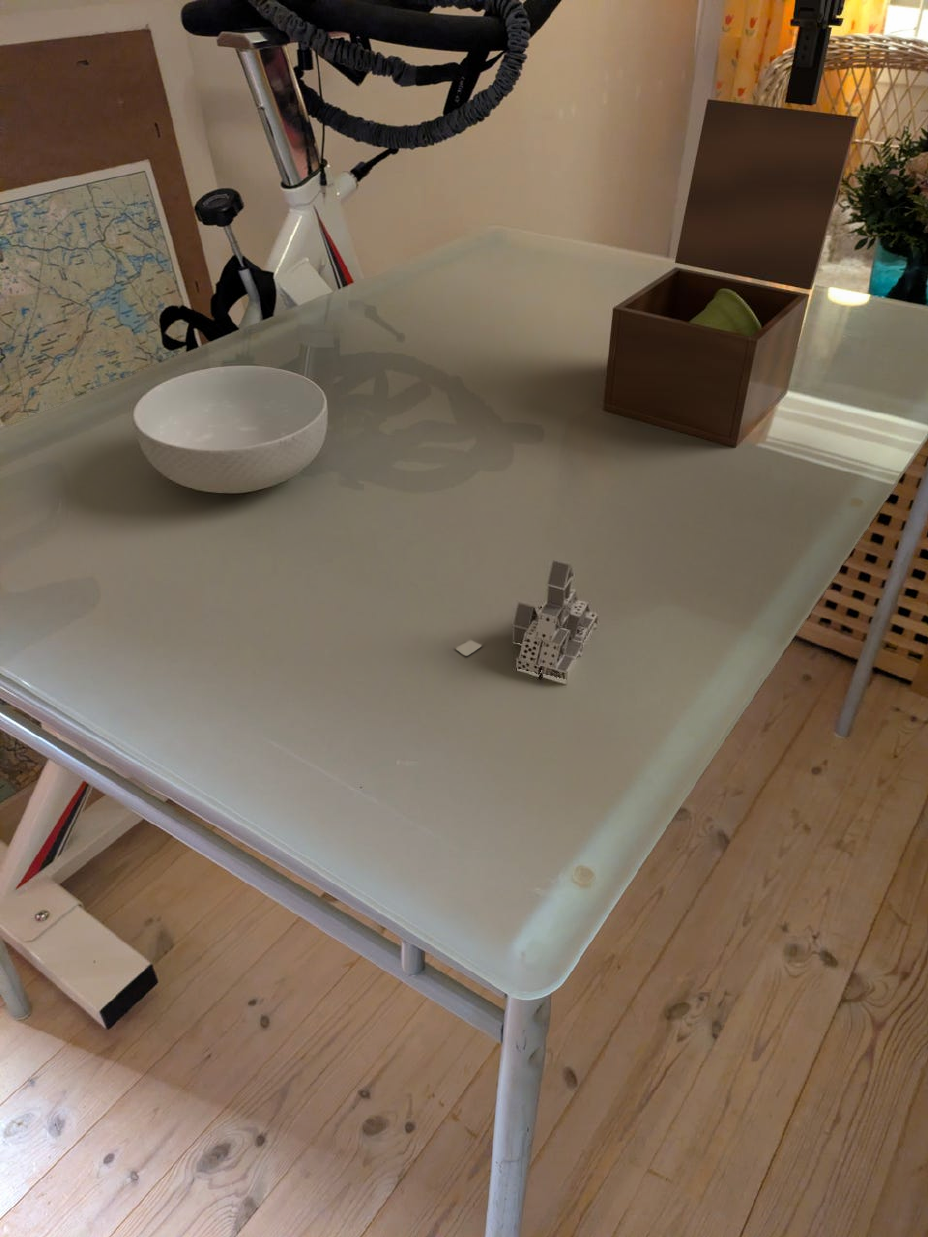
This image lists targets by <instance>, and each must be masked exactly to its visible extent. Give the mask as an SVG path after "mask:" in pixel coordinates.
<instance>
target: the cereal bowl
mask: <svg viewBox="0 0 928 1237" xmlns="http://www.w3.org/2000/svg"><path fill="white" fill-rule="evenodd" d="M328 415H329V414H328V401H327V397H326V394H325V393H324V391H323V390H322V389H321V388H320V386H319V385H318V384H317V383H316V382H314V381H312V380H311V379H309V378H307V377H305V376H303V375H301V374H299V373H295V372H292V371H289V370H286V369H281V368H275V367H269V366H263V365H262V366H261V365H229V366H218V367H211V368H209V367H208V368H205V369H199V370H195V371H191V372H187V373H183V374H181V375H178V376H175V377H172V378H169V379H168V380H166V381H163V382H161V383H159V384H157V385H156V386H154V387H153V388H151V389H150V390H148V391H147V392H146V393H145V394H144V395H143V396H142V397H141V398H140V399H139V400H138V401H137V402H136V404H135V406H134V408H133V412H132V425H133V427H134V433H135V435H136V438H137V439H136V440H137V441H138V444H139V447H140V450H141V451H142V453H143V456H145V457H146V459H147V461H148V462H149V463H150V464H151V466H152V467H153V468H155V469H156V471H157V472H159V473H160V474H161V475H162V476H163V477H166V478H167V479H168V480H171V481H172V482H174V483H176V484H179V485H180V486H184V487H186V488H189V489H193V490H195V491H201V492H204V493H205V492H207V493H214V494H215V493H216V494H245V493H251V492H255V491H259V490H260V491H261V490H263V489H267V488H270V487H274V486H276V485H278V484H280V483H283V482H284V483H285V481H288V480H289V479H292V478H293V477H295V476H296V475H298V474H299V473H301V472H302V471H304V470H305V469H306V468H307V467H308V466H309V465H310V464H311V462H313V461H314V460H315V458H316V457H317V456H318V454H319V452H320V451H321V449H322V446H323V445H324V441H325V439H326V433H327V431H328V417H329V416H328Z"/></svg>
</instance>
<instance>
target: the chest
mask: <svg viewBox="0 0 928 1237" xmlns="http://www.w3.org/2000/svg"><path fill="white" fill-rule="evenodd" d="M720 289H729V290H731V291H733V292H735V293H736V294H737V295H738V296H739V297H741V298H742V299H743V300H744V302H745V303H746V304H747V305H748V306H749V308H750V309H751V310H752V312H753V313H754V315H755V316H756V318H757V320H758V321H759V323H760V325H761V327H762V329H760V330H759V331H758V332H757V333H756V334H755V335H754V336H752V337H751V336H746V335H742V334H738V333H733V332H729V331H725V330H720V329H716V328H712V327H707V326H703V325H698V324H694V323H690V321H691V320H692V319H693V318H695V317H696V316H697V315H698V314H700V313H701V312H702V311H703V310H704V309H705V308H706V306H707V305H708V304H709V303H710V302H711V301H712V300H713V299H714V296H715V294H716V293H717V291H719V290H720ZM809 298H810V293H805V292H800V291H796V290H790V289H785V288H780V287H775V286H771V285H766V284H760V283H756V282H751V281H746V280H741V279H737V278H736V279H735V278H731V277H727V276H721V275H717V274H711V273H707V272H701V271H697V270H692V269H687V268H681V267H677V266H675V267H673V268H671V269H670V270H669V271H667V272H665V273H664V274H662V275H661V276H660V277H658V278H656V279H655V280H654V281H652V282H651V283H649V284H647V285H646V286H644V287H643V288H641V289H639V290H638V291H636V292H635V293H634V294H632V295H630V296H629V297H628V298H626V299H625V300H623V301H621V302H620V303H619V304H617V305H615V306H614V307H613V308H612V314H611V324H610V333H609V343H608V352H607V354H608V355H607V364H606V375H605V383H604V392H603V393H604V394H603V406H602V410H603V411H606V412H609V413H614V414H617V415H620V416H624V417H627V418H630V419H633V420H637V421H641V422H645V423H648V424H652V425H655V426H659V427H663V428H665V429H669V430H673V431H676V432H680V433H683V434H687V435H690V436H693V437H697V438H701V439H704V440H708V441H711V442H715V443H719V444H722V445H725V446H729V447H732V448H737V447H738V446H739V445H740V444H741V443H742V442H743V441H744V440H745V438H747V436H748V435H750V433H751V432H752V431H753V430H754V429H755V428H756V427H757V426H758V425H759V424H760V423H761V422H762V421H763V420H764V418H765V417H766V416H767V415H768V414H769V413H771V411H772V410H773V409H774V408H775V407H776V406H777V405H778V404H779V403H780V402H781V401H782V399H784V397H785V396H786V395H787V393H788V391H789V387H790V381H791V377H792V373H793V369H794V365H795V360H796V356H797V352H798V351H797V350H798V347H799V342H800V337H801V333H802V328H803V325H804V321H805V316H806V312H807V307H808V303H809Z"/></svg>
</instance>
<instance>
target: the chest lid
mask: <svg viewBox="0 0 928 1237" xmlns="http://www.w3.org/2000/svg"><path fill="white" fill-rule="evenodd" d="M859 118H860V117H859V116H854V115H847V114H846V115H845V114H837V113H829V112H820V111H814V110H813V111H811V110H805V109H804V110H803V109H796V108H787V107H778V106H769V105H762V104H753V103H752V104H751V103H744V102H735V101H727V100H719V99H710V98H709V99H707V100H706V107H705V110H704V114H703V120H702V125H701V129H700V135H699V139H698V146H697V149H696V156H695V160H694V165H693V169H692V175H691V180H690V185H689V190H688V195H687V200H686V205H685V210H684V215H683V220H682V223H681V224H682V225H681V230H680V235H679V240H678V245H677V250H676V254H675V260H674V263H675V264H679V265H683V266H688V267H693V268H699V269H704V270H708V271H714V272H718V273H723V274H729V275H734V276H738V277H743V278H748V279H753V280H759V281H763V282H767V283H773V284H778V285H783V286H786V287H787V286H788V287H791V288H792V287H793V288H799V289H803V290H808V291H811V290H813V286H814V283H815V280H816V276H817V272H818V268H819V264H820V260H821V257H822V254H823V250H824V246H825V243H826V238H827V235H828V231H829V228H830V224H831V220H832V216H833V213H834V209H835V205H836V203H837V198H838V195H839V191H840V188H841V184H842V180H843V176H844V174H845V169H846V166H847V162H848V158H849V154H850V151H851V147H852V144H853V140H854V136H855V132H856V129H857V126H858V121H859Z"/></svg>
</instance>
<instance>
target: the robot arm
mask: <svg viewBox="0 0 928 1237" xmlns="http://www.w3.org/2000/svg"><path fill="white" fill-rule="evenodd" d="M845 3H846V0H794V6H793V12H792V18H791V19H790V21H789V26H790V27H798V31H797V37H796V42H795V47H794V52H793V58H792V62H791V67H790V72H789V78H788V82H787V83H788V84H787V89H786V95H785V99H784V103H785V104H793V105H794V104H795V105H803V106H809V107H812V106H814V105H815V104H817V101H818V96H819V92H820V87H821V82H822V77H823V73H824V68H825V64H826V63H825V62H826V57H827V54H828V49H829V44H830V39H831V34H832V30H833V27H842V24H843V22H844V18H842V17H840V16H841V15H842V14H843V12H844V8H845ZM837 16H838V17H837ZM831 26H832V27H831Z"/></svg>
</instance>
